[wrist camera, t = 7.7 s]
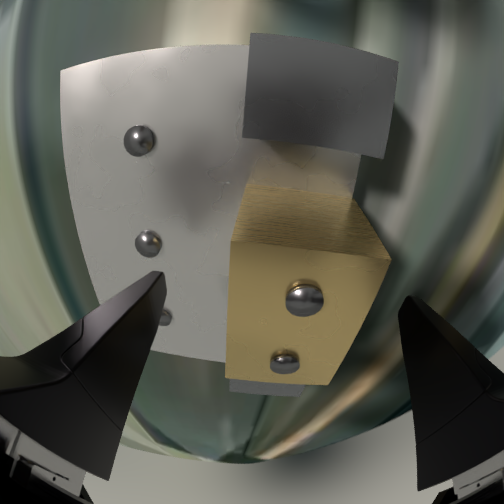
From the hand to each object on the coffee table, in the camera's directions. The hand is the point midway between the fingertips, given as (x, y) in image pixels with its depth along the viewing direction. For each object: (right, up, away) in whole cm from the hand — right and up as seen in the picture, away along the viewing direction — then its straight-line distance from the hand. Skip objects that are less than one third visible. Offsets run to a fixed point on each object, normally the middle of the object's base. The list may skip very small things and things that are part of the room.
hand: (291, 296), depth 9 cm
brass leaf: (0, +1, +2) cm, 2 cm away
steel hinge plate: (-4, +2, +3) cm, 5 cm away
